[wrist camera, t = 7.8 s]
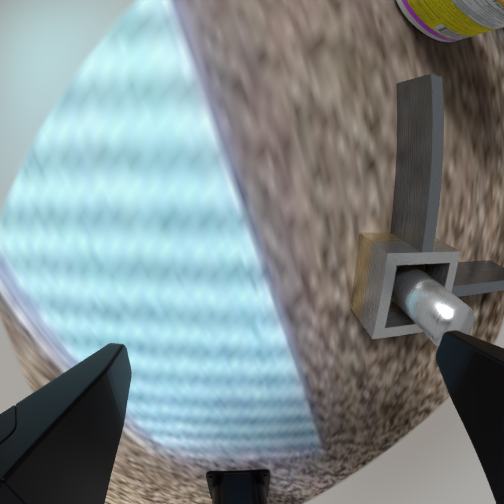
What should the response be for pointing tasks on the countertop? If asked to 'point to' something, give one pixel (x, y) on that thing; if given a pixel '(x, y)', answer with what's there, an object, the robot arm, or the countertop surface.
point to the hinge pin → (430, 303)
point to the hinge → (414, 221)
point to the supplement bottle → (453, 17)
